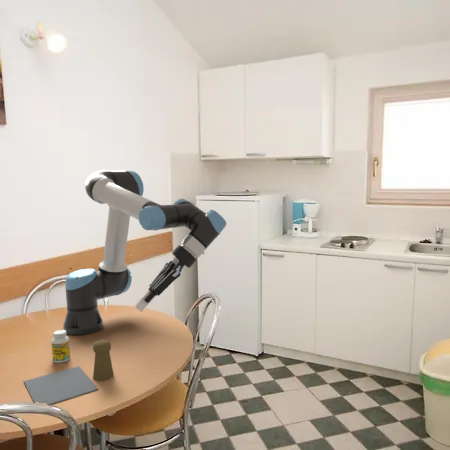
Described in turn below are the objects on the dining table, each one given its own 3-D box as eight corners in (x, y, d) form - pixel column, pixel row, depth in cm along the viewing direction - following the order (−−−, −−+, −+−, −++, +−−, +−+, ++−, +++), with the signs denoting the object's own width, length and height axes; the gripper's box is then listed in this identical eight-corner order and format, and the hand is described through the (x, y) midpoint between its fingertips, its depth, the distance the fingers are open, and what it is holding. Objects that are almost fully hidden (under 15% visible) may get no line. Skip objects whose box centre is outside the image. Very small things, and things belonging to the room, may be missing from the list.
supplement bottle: (71, 355, 137) (69, 328, 136) (68, 362, 132) (67, 334, 131) (54, 357, 136) (52, 329, 135) (51, 364, 131) (49, 335, 130)
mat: (23, 382, 119) (23, 381, 119) (78, 366, 128) (78, 365, 128) (37, 408, 104) (37, 407, 104) (98, 389, 114) (98, 388, 114)
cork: (107, 382, 118) (106, 346, 117) (89, 380, 120) (87, 344, 118) (117, 372, 124) (115, 338, 123) (99, 370, 125) (97, 336, 124)
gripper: (202, 262, 124) (150, 322, 120) (191, 256, 136) (143, 310, 132) (184, 246, 121) (131, 307, 118) (175, 241, 134) (126, 296, 130)
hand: (137, 308), depth 125 cm, fingers closed
